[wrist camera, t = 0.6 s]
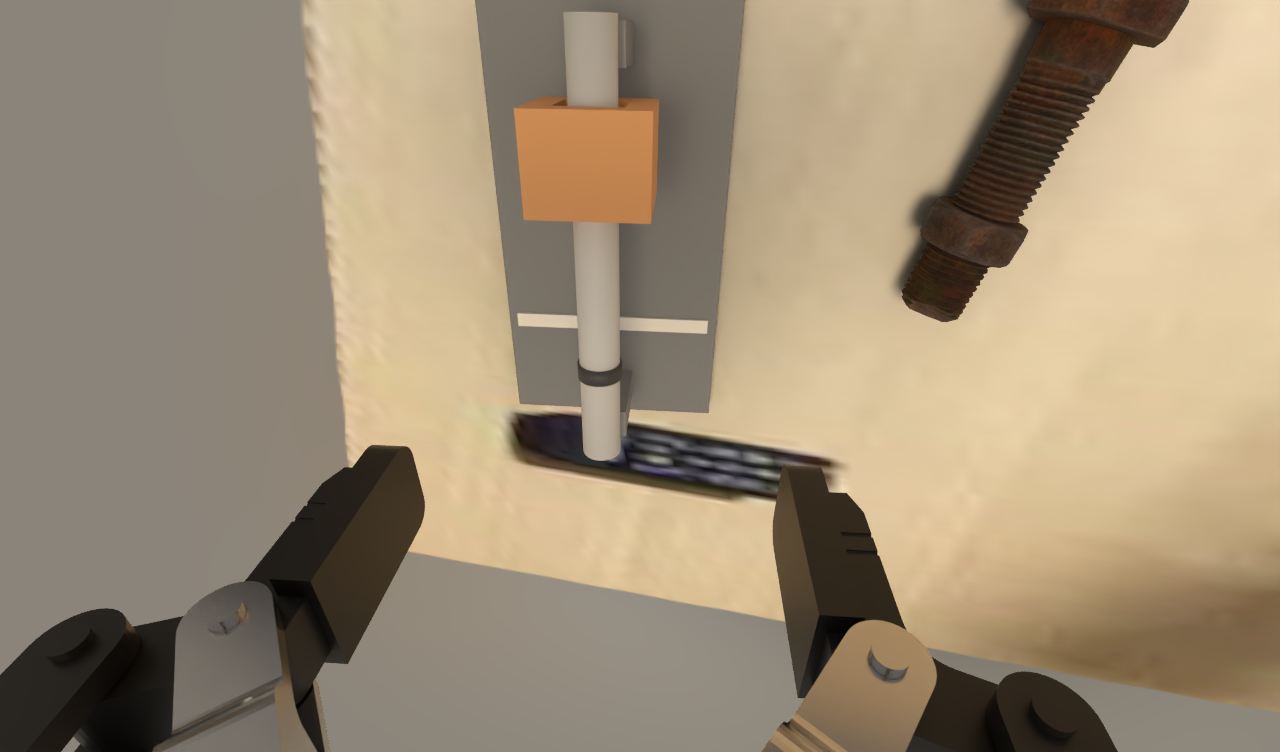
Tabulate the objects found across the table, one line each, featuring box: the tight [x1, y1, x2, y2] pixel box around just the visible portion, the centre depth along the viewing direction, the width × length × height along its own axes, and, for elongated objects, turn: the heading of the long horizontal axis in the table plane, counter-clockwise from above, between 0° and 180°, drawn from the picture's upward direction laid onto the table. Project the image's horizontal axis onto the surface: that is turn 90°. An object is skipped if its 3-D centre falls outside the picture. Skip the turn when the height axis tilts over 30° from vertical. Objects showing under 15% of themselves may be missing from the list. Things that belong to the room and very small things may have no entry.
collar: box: [514, 96, 659, 224], centre depth 24 cm, size 4×5×5 cm
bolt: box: [902, 0, 1189, 322], centre depth 27 cm, size 6×5×15 cm
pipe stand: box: [475, 0, 745, 461], centre depth 29 cm, size 22×12×8 cm, turn 179°
